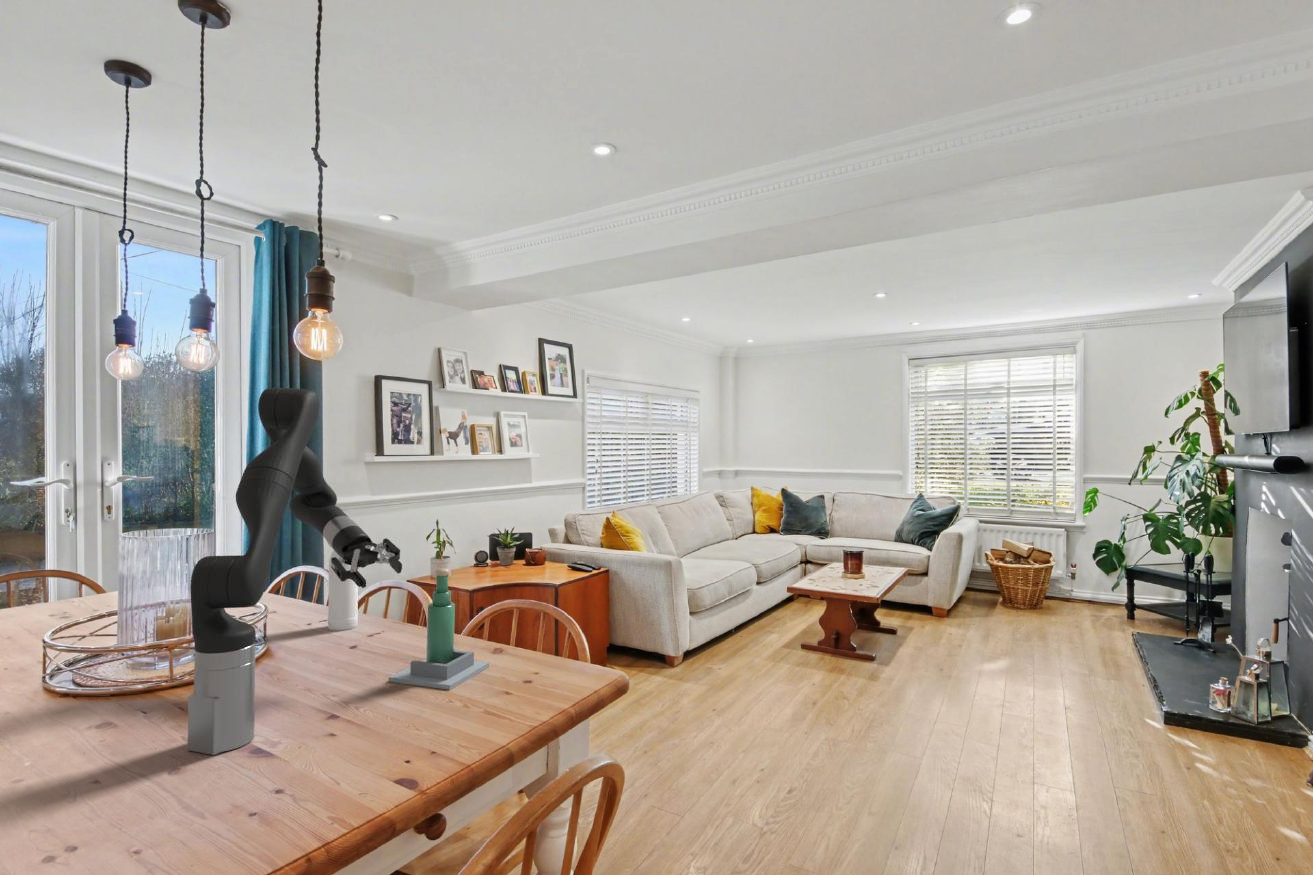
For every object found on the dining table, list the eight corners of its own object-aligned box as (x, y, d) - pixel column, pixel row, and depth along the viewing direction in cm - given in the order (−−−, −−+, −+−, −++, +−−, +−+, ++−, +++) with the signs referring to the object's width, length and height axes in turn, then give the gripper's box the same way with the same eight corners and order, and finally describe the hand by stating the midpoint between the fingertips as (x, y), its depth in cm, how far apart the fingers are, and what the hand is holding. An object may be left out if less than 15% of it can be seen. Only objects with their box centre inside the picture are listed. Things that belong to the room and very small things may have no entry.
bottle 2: (443, 675, 155) (445, 573, 155) (420, 671, 157) (423, 570, 157) (458, 667, 161) (461, 568, 161) (436, 663, 162) (439, 566, 162)
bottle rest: (450, 689, 149) (450, 671, 149) (388, 681, 153) (388, 663, 153) (489, 666, 164) (489, 650, 164) (431, 660, 169) (432, 643, 169)
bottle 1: (363, 624, 201) (364, 521, 201) (348, 631, 193) (349, 525, 193) (337, 623, 202) (338, 521, 202) (321, 630, 194) (323, 524, 194)
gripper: (316, 536, 156) (352, 577, 148) (375, 516, 166) (412, 553, 158) (316, 561, 159) (352, 602, 151) (374, 540, 170) (410, 577, 162)
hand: (382, 577), depth 155 cm, fingers open, 8 cm apart
